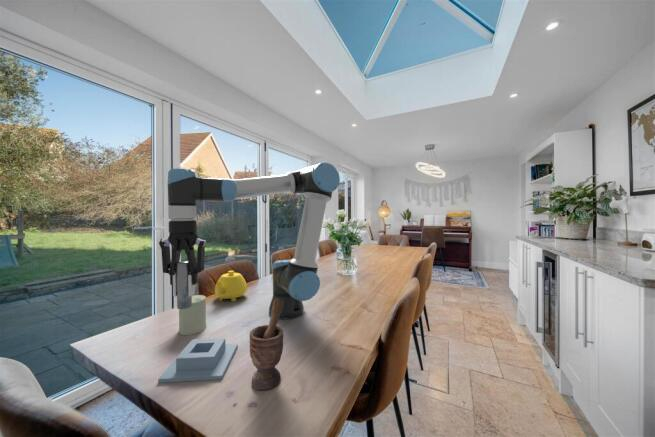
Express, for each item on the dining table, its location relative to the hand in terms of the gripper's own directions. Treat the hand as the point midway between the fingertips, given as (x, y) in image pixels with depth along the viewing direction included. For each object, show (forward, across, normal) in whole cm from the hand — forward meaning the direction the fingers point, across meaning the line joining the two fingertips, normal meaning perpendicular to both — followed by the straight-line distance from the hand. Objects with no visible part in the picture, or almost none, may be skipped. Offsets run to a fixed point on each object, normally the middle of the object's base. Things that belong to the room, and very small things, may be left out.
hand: (184, 294), depth 78 cm
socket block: (+18, -8, +6) cm, 21 cm away
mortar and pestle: (+19, -28, +13) cm, 36 cm away
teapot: (+19, +2, -48) cm, 52 cm away
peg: (+4, 0, 0) cm, 4 cm away
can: (+19, +5, -16) cm, 25 cm away
